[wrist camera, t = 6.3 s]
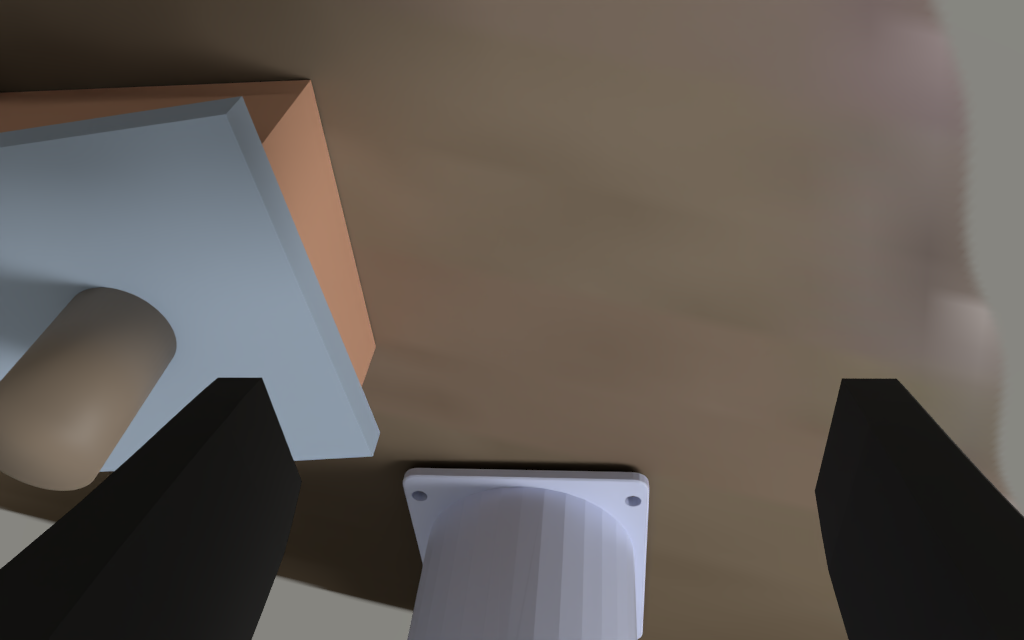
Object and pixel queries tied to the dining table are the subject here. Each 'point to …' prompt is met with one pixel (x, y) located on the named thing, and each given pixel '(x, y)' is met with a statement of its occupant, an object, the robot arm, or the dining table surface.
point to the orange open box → (291, 153)
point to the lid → (156, 293)
